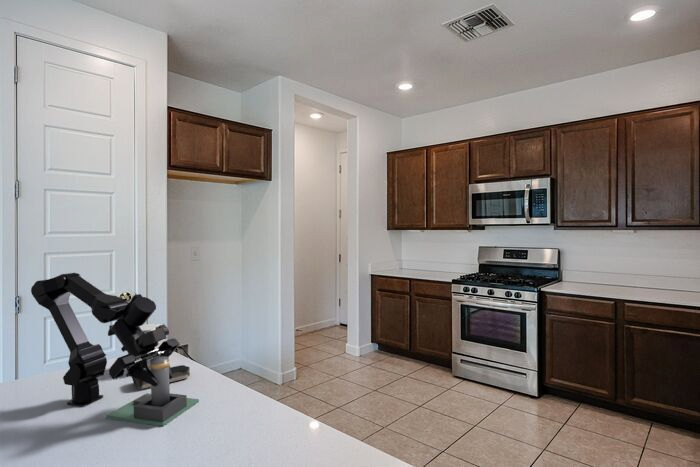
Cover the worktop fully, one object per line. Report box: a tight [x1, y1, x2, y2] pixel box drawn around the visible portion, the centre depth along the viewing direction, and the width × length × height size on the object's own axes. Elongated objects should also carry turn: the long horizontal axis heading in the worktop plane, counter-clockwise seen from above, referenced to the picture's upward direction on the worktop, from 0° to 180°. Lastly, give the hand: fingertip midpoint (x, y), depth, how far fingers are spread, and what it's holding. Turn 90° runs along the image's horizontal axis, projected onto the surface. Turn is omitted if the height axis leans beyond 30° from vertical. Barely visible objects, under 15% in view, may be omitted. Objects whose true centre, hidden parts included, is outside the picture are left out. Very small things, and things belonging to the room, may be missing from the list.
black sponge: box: [131, 364, 191, 390], centre depth 128 cm, size 16×8×4 cm, turn 127°
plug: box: [150, 356, 171, 407], centre depth 105 cm, size 5×5×12 cm
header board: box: [105, 392, 200, 427], centre depth 108 cm, size 18×14×4 cm
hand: (164, 381), depth 105 cm, fingers closed on plug, 4 cm apart
